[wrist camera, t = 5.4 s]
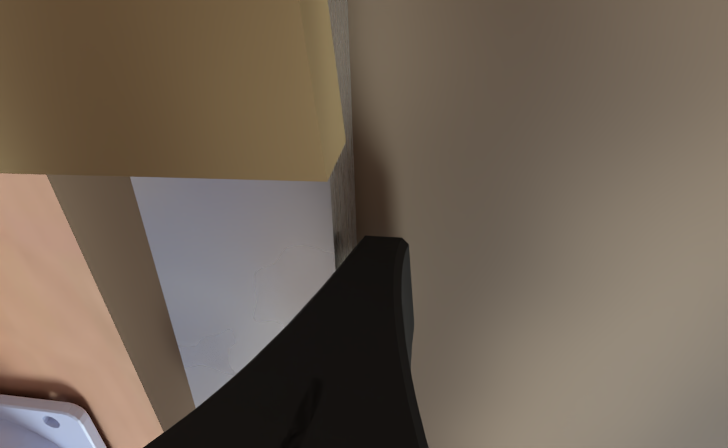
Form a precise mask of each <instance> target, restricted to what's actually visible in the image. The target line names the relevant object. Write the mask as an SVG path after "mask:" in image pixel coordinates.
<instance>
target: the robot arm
mask: <svg viewBox="0 0 728 448" xmlns="http://www.w3.org/2000/svg"><path fill="white" fill-rule="evenodd" d="M413 333H414V311H413V297H412V282H411V267H410V253H409V244H408V243H407V242H406V241H405V240H404V239H403V238H401V237H383V236H364V238H363V239H362V240H360V241H359V243H358V244H357V245H356V246H355V248H354V249H353V250H352V251H351V253H350V254H349V255H348V256H347V258H346V259H345V260H344V261H343V262H342V264H341V265H340V266H339V267H338V268H337V270H336V271H335V272H334V273H333V274H332V276H331V277H330V278H329V279H328V280H327V281H326V283H325V284H324V285H323V286H322V287H321V288H320V290H319V291H318V292H317V293H316V294H315V295H314V296H313V297H312V298H311V300H310V301H309V302H308V303H307V304H306V305H305V306H304V307H303V308H302V309H301V311H300V312H299V313H298V314H297V315H296V316H295V317H294V318H293V319H292V320H291V321H290V322H289V324H288V325H287V326H286V327H285V328H284V329H283V330H282V331H281V332H280V333H279V334H278V335H277V336H276V337H275V338H274V339H273V340H272V341H270V342H269V343H268V344H267V345H266V346H265V347H264V348H263V349H262V350H261V351H260V352H259V353H258V354H257V355H256V356H255V357H254V358H253V359H252V360H251V361H250V362H249V363H248V364H247V365H246V366H245V367H244V368H242V369H241V370H240V371H239V372H238V373H237V374H236V375H235V376H234V377H232V378H231V379H230V380H229V381H228V382H227V383H226V384H224V385H223V386H222V387H221V388H220V389H219V390H217V391H216V392H215V393H214V394H213V395H211V396H210V397H209V398H208V399H207V400H205V401H204V402H203V403H202V404H201V405H199V406H198V407H197V408H196V409H194V410H193V411H192V412H190V413H189V414H188V415H186V416H185V417H184V418H182V419H181V420H180V421H179V422H177V423H176V424H175V425H173V426H172V427H171V428H169V429H168V430H167V431H165V432H164V433H163V434H161V435H160V436H159V437H157V438H156V439H154V440H153V441H152V442H150V443H149V444H148V445H146V446H145V447H143V448H429V447H428V443H427V440H426V436H425V432H424V428H423V424H422V420H421V416H420V412H419V408H418V404H417V399H416V395H415V390H414V385H413V380H412V375H411V356H412V342H413ZM0 448H107V447H106V445H105V444H104V442H103V440H102V438H101V436H100V435H99V433H98V431H97V429H96V427H95V426H94V424H93V422H92V420H91V418H90V416H89V415H88V413H87V412H86V411H85V410H84V409H83V408H82V407H80V406H78V405H76V404H74V403H70V402H62V401H54V400H45V399H37V398H28V397H20V396H12V395H3V394H0Z"/></svg>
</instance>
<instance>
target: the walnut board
mask: <svg viewBox="0 0 728 448" xmlns="http://www.w3.org/2000/svg"><path fill="white" fill-rule="evenodd" d="M348 16H349V44H350V72H351V100H352V128H353V155H354V183H355V211H356V239H357V244H358V243H359V241H360V240H362V239H363V238H364V236H383V237H401V238H403V239H404V240H405V241H406V242H407V243H408V244H409V253H410V267H411V282H412V297H413V311H414V333H413V342H412V356H411V375H412V380H413V385H414V390H415V395H416V399H417V404H418V408H419V412H420V416H421V420H422V424H423V428H424V432H425V436H426V440H427V443H428V447H429V448H728V0H348ZM345 143H346V137H345V129H344V122H343V114H342V107H341V99H340V91H339V84H338V76H337V69H336V61H335V53H334V46H333V38H332V30H331V23H330V15H329V8H328V0H0V173H12V174H46V175H47V177H48V179H49V181H50V183H51V186H52V188H53V190H54V192H55V194H56V197H57V199H58V201H59V203H60V205H61V208H62V210H63V212H64V214H65V216H66V218H67V221H68V223H69V225H70V227H71V229H72V232H73V234H74V236H75V238H76V240H77V243H78V245H79V247H80V249H81V251H82V254H83V256H84V258H85V260H86V262H87V265H88V267H89V269H90V271H91V273H92V276H93V278H94V280H95V282H96V284H97V286H98V289H99V291H100V293H101V295H102V297H103V300H104V302H105V304H106V306H107V308H108V311H109V313H110V315H111V317H112V319H113V322H114V324H115V326H116V328H117V330H118V333H119V335H120V337H121V339H122V341H123V343H124V346H125V348H126V350H127V352H128V354H129V357H130V359H131V361H132V363H133V365H134V368H135V370H136V372H137V374H138V376H139V379H140V381H141V383H142V385H143V387H144V390H145V392H146V394H147V396H148V398H149V400H150V403H151V405H152V407H153V409H154V411H155V414H156V416H157V418H158V420H159V422H160V425H161V427H162V429H163V431H164V432H165V431H167V430H168V429H169V428H171V427H172V426H173V425H175V424H176V423H177V422H179V421H180V420H181V419H182V418H184V417H185V416H186V415H188V414H189V413H190V412H192V411H193V410H194V409H196V407H195V404H194V400H193V397H192V393H191V390H190V386H189V383H188V379H187V376H186V372H185V369H184V365H183V362H182V358H181V355H180V351H179V348H178V344H177V341H176V337H175V334H174V330H173V327H172V323H171V320H170V316H169V312H168V309H167V305H166V302H165V298H164V295H163V291H162V288H161V284H160V281H159V277H158V274H157V270H156V267H155V263H154V260H153V256H152V253H151V249H150V246H149V242H148V239H147V235H146V232H145V228H144V225H143V221H142V217H141V214H140V210H139V207H138V203H137V200H136V196H135V193H134V189H133V186H132V182H131V179H130V177H164V178H202V179H241V180H279V181H317V182H328V179H329V177H330V175H331V173H332V171H333V169H334V167H335V164H336V162H337V160H338V158H339V156H340V154H341V152H342V149H343V147H344V145H345Z"/></svg>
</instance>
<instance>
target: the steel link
mask: <svg viewBox="0 0 728 448" xmlns="http://www.w3.org/2000/svg"><path fill="white" fill-rule="evenodd" d="M328 8H329V15H330V23H331V30H332V38H333V46H334V53H335V61H336V69H337V76H338V84H339V91H340V99H341V107H342V114H343V122H344V129H345V137H346V143H345V145H344V147H343V149H342V152H341V154H340V156H339V158H338V160H337V162H336V164H335V167H334V169H333V171H332V173H331V175H330V177H329V179H328V182H317V181H279V180H241V179H202V178H164V177H130V179H131V182H132V186H133V189H134V193H135V196H136V200H137V203H138V207H139V210H140V214H141V217H142V221H143V225H144V228H145V232H146V235H147V239H148V242H149V246H150V249H151V253H152V256H153V260H154V263H155V267H156V270H157V274H158V277H159V281H160V284H161V288H162V291H163V295H164V298H165V302H166V305H167V309H168V312H169V316H170V320H171V323H172V327H173V330H174V334H175V337H176V341H177V344H178V348H179V351H180V355H181V358H182V362H183V365H184V369H185V372H186V376H187V379H188V383H189V386H190V390H191V393H192V397H193V400H194V404H195V407H196V408H197V407H198V406H199V405H201V404H202V403H203V402H204V401H205V400H207V399H208V398H209V397H210V396H211V395H213V394H214V393H215V392H216V391H217V390H219V389H220V388H221V387H222V386H223V385H224V384H226V383H227V382H228V381H229V380H230V379H231V378H232V377H234V376H235V375H236V374H237V373H238V372H239V371H240V370H241V369H242V368H244V367H245V366H246V365H247V364H248V363H249V362H250V361H251V360H252V359H253V358H254V357H255V356H256V355H257V354H258V353H259V352H260V351H261V350H262V349H263V348H264V347H265V346H266V345H267V344H268V343H269V342H270V341H272V340H273V339H274V338H275V337H276V336H277V335H278V334H279V333H280V332H281V331H282V330H283V329H284V328H285V327H286V326H287V325H288V324H289V322H290V321H291V320H292V319H293V318H294V317H295V316H296V315H297V314H298V313H299V312H300V311H301V309H302V308H303V307H304V306H305V305H306V304H307V303H308V302H309V301H310V300H311V298H312V297H313V296H314V295H315V294H316V293H317V292H318V291H319V290H320V288H321V287H322V286H323V285H324V284H325V283H326V281H327V280H328V279H329V278H330V277H331V276H332V274H333V273H334V272H335V271H336V270H337V268H338V267H339V266H340V265H341V264H342V262H343V261H344V260H345V259H346V258H347V256H348V255H349V254H350V253H351V251H352V250H353V249H354V248H355V246H356V245H357V239H356V211H355V183H354V155H353V128H352V100H351V72H350V44H349V16H348V0H328Z"/></svg>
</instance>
